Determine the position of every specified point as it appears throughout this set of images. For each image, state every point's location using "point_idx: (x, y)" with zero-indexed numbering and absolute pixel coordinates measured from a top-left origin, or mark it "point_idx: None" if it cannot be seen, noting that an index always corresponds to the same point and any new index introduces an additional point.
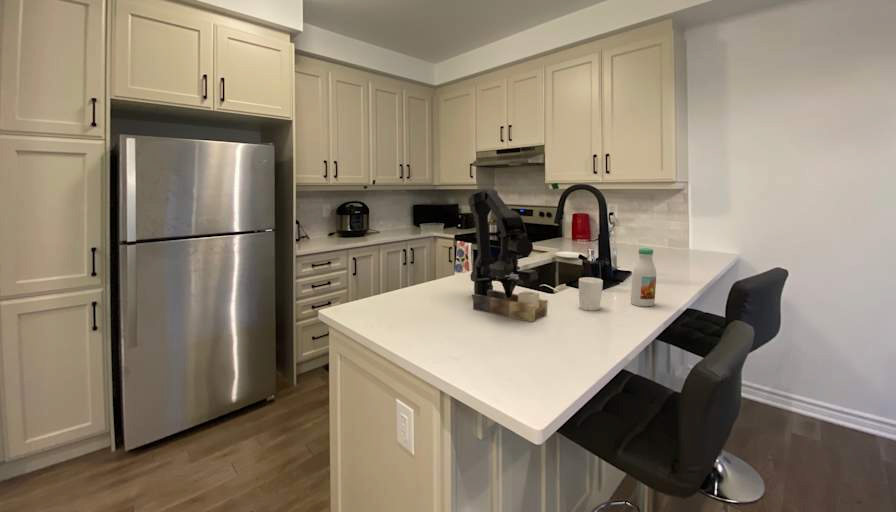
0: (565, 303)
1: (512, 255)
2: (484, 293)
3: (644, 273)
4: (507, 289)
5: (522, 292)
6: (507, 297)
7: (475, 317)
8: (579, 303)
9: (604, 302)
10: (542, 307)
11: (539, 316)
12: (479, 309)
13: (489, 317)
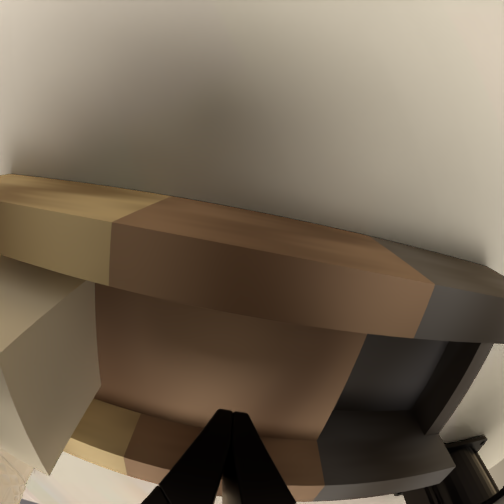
0: (81, 486)
1: None
2: None
3: None
4: (234, 496)
5: (16, 421)
6: (237, 411)
7: (416, 70)
8: (15, 459)
9: (26, 485)
10: None
11: None
12: (453, 258)
13: (323, 104)
